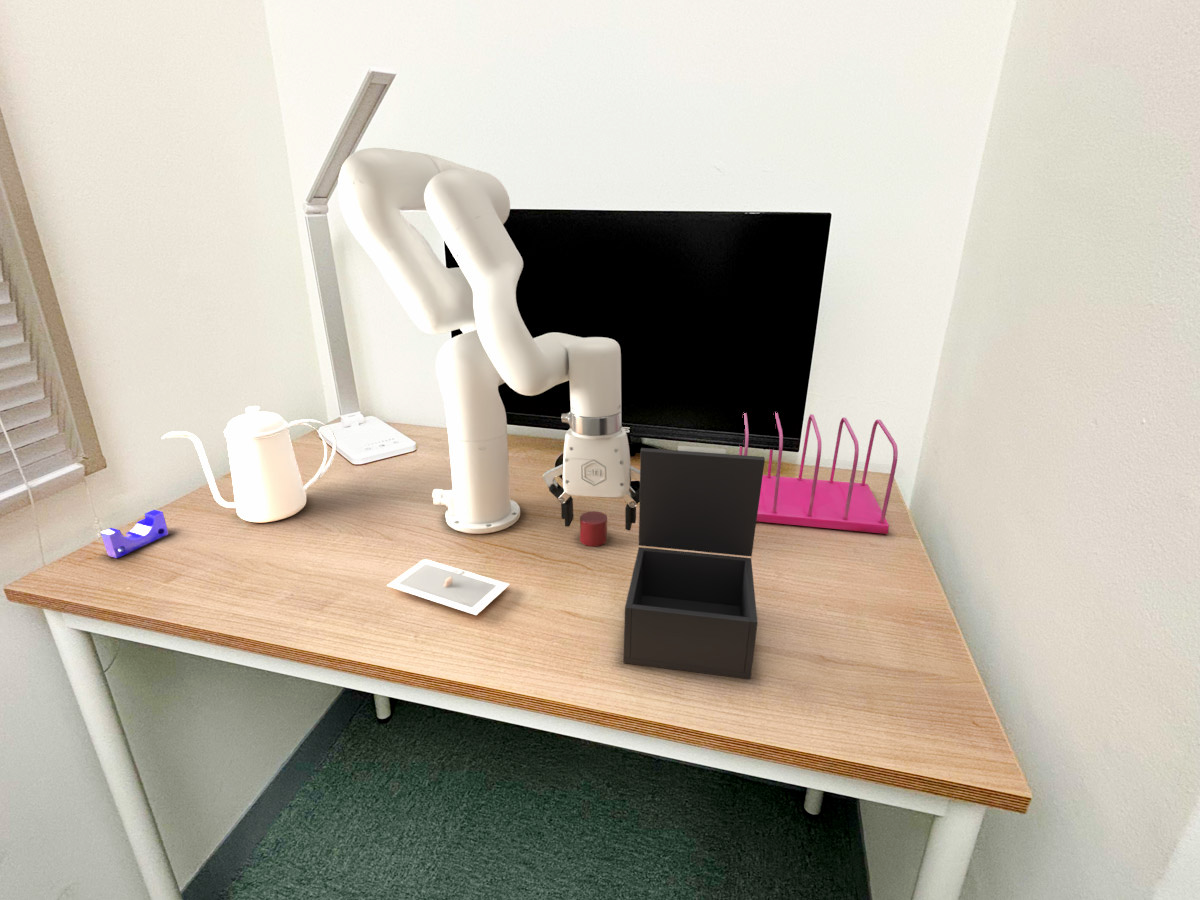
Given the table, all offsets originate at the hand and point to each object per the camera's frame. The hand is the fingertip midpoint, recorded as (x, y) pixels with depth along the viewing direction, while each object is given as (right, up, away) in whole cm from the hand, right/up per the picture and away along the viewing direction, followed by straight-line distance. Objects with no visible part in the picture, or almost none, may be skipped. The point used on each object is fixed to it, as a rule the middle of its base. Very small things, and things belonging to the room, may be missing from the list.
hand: (598, 524), depth 98 cm
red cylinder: (-1, -3, +1) cm, 3 cm away
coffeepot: (-57, +1, +10) cm, 58 cm away
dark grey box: (+11, -11, -20) cm, 26 cm away
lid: (+12, +5, -21) cm, 25 cm away
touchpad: (-21, -8, -12) cm, 25 cm away
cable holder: (-72, -3, -1) cm, 72 cm away
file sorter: (+37, +2, +14) cm, 39 cm away
